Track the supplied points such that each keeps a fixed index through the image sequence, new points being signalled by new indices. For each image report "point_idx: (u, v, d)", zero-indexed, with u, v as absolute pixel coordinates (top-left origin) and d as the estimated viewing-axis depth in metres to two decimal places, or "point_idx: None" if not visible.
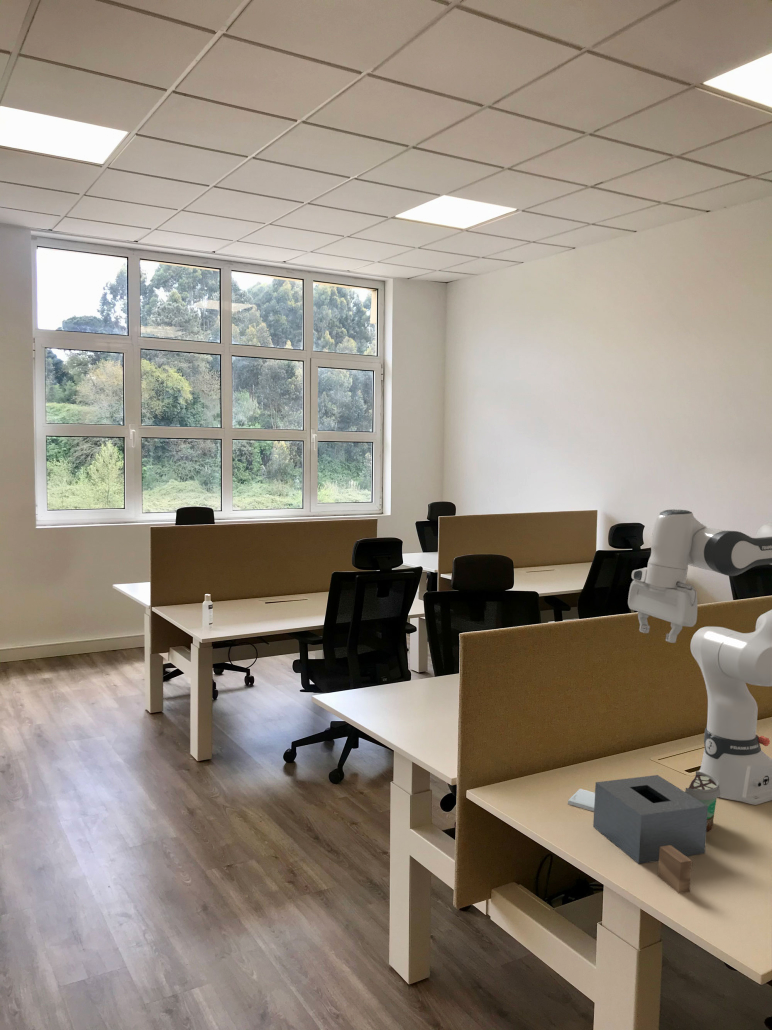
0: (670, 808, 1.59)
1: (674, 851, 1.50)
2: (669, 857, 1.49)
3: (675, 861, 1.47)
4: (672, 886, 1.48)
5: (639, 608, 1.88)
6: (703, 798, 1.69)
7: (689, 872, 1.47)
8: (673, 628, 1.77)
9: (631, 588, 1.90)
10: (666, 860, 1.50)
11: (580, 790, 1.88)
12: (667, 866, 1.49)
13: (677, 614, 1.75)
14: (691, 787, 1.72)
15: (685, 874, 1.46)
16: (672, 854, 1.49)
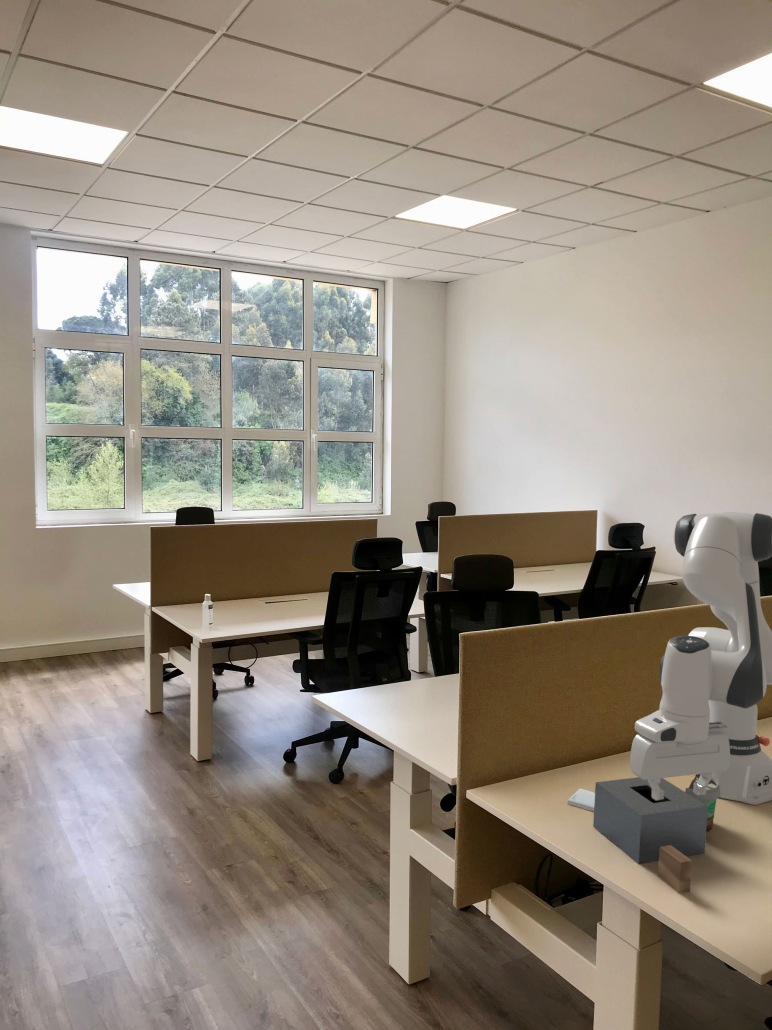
0: (670, 808, 1.59)
1: (674, 851, 1.50)
2: (669, 857, 1.49)
3: (675, 861, 1.47)
4: (672, 886, 1.48)
5: (662, 774, 1.44)
6: (703, 798, 1.69)
7: (689, 872, 1.47)
8: (710, 778, 1.49)
9: (650, 754, 1.42)
10: (666, 860, 1.50)
11: (580, 790, 1.88)
12: (667, 866, 1.49)
13: (721, 761, 1.48)
14: (691, 787, 1.72)
15: (685, 874, 1.46)
16: (672, 854, 1.49)
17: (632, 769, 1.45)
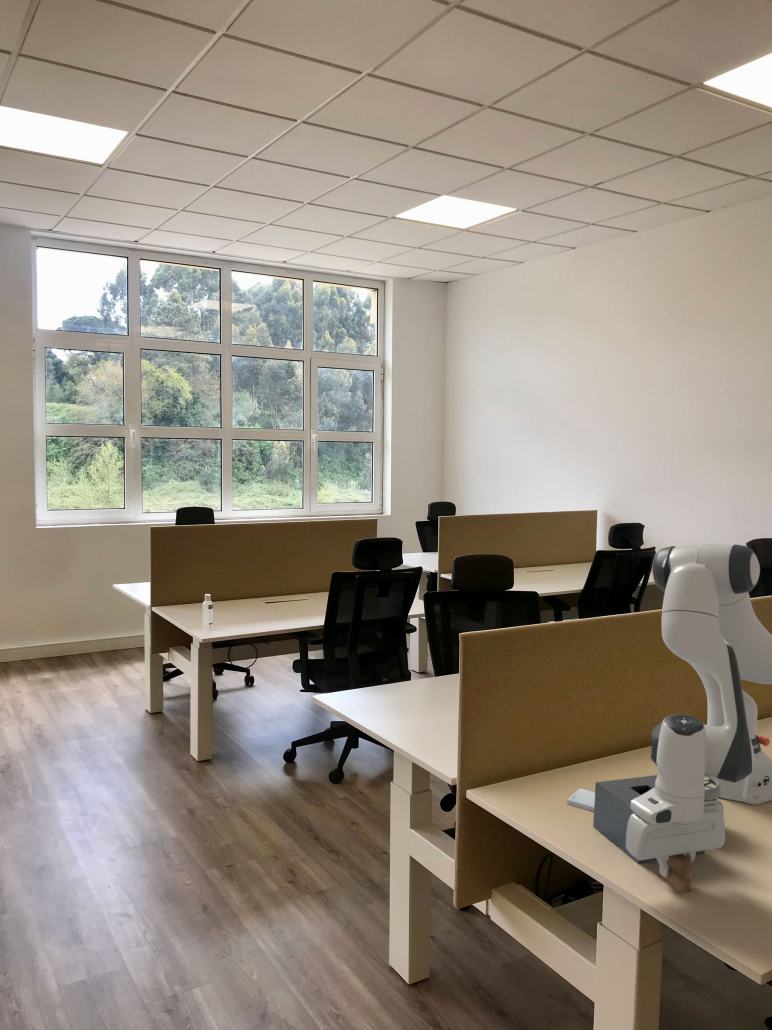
0: None
1: None
2: (669, 857, 1.49)
3: (675, 861, 1.47)
4: (672, 886, 1.48)
5: (658, 854, 1.46)
6: None
7: (689, 872, 1.47)
8: (693, 856, 1.49)
9: (646, 835, 1.44)
10: None
11: (580, 790, 1.88)
12: None
13: (716, 838, 1.50)
14: None
15: (685, 874, 1.46)
16: None
17: (628, 849, 1.47)
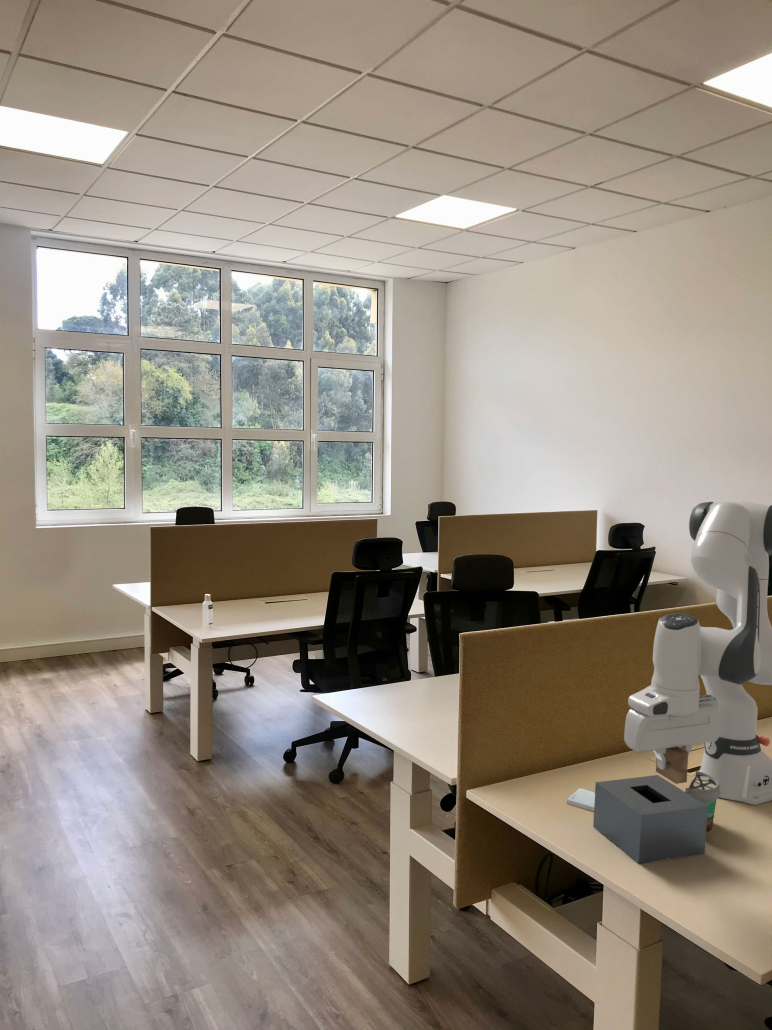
0: (670, 808, 1.59)
1: None
2: (666, 751, 1.54)
3: (672, 753, 1.52)
4: (670, 778, 1.53)
5: (655, 746, 1.51)
6: (703, 798, 1.69)
7: (686, 763, 1.52)
8: (689, 750, 1.55)
9: (644, 727, 1.49)
10: (663, 754, 1.55)
11: (580, 790, 1.88)
12: None
13: (711, 732, 1.55)
14: (691, 787, 1.72)
15: (682, 765, 1.52)
16: None
17: (626, 742, 1.52)
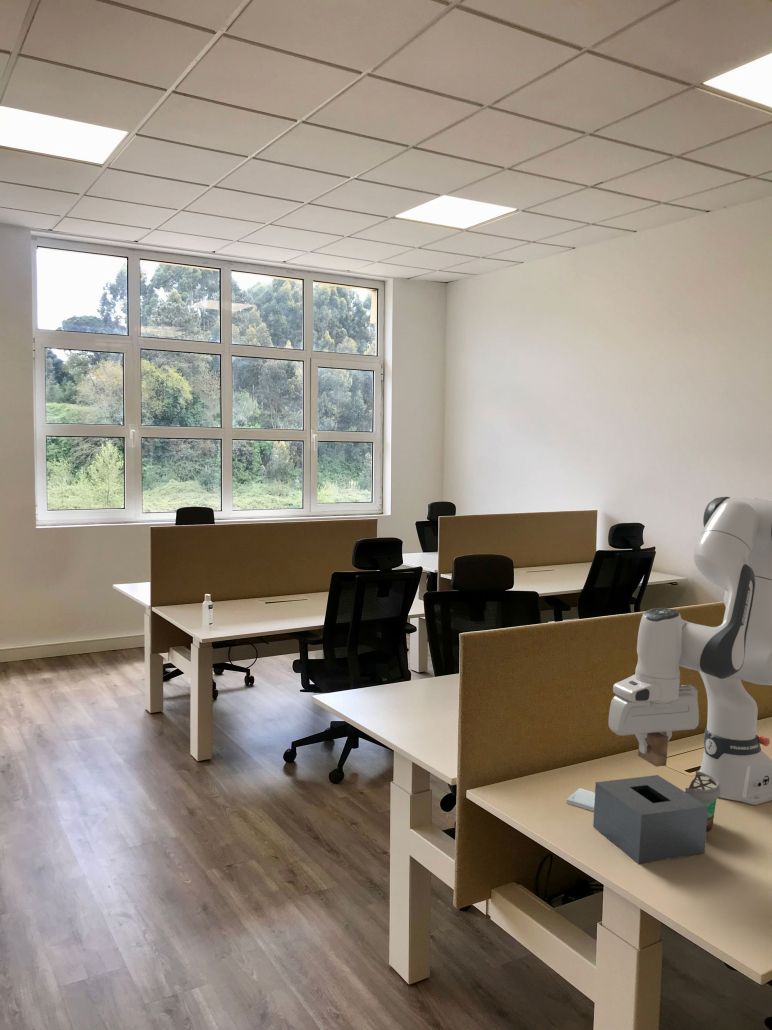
0: (670, 808, 1.59)
1: None
2: (647, 736, 1.65)
3: (653, 738, 1.63)
4: (650, 761, 1.64)
5: (637, 730, 1.61)
6: (703, 798, 1.69)
7: (666, 748, 1.62)
8: (670, 736, 1.65)
9: (626, 712, 1.59)
10: (645, 739, 1.65)
11: (580, 789, 1.88)
12: None
13: (690, 719, 1.65)
14: (691, 787, 1.72)
15: (662, 749, 1.62)
16: (651, 733, 1.64)
17: (610, 726, 1.62)
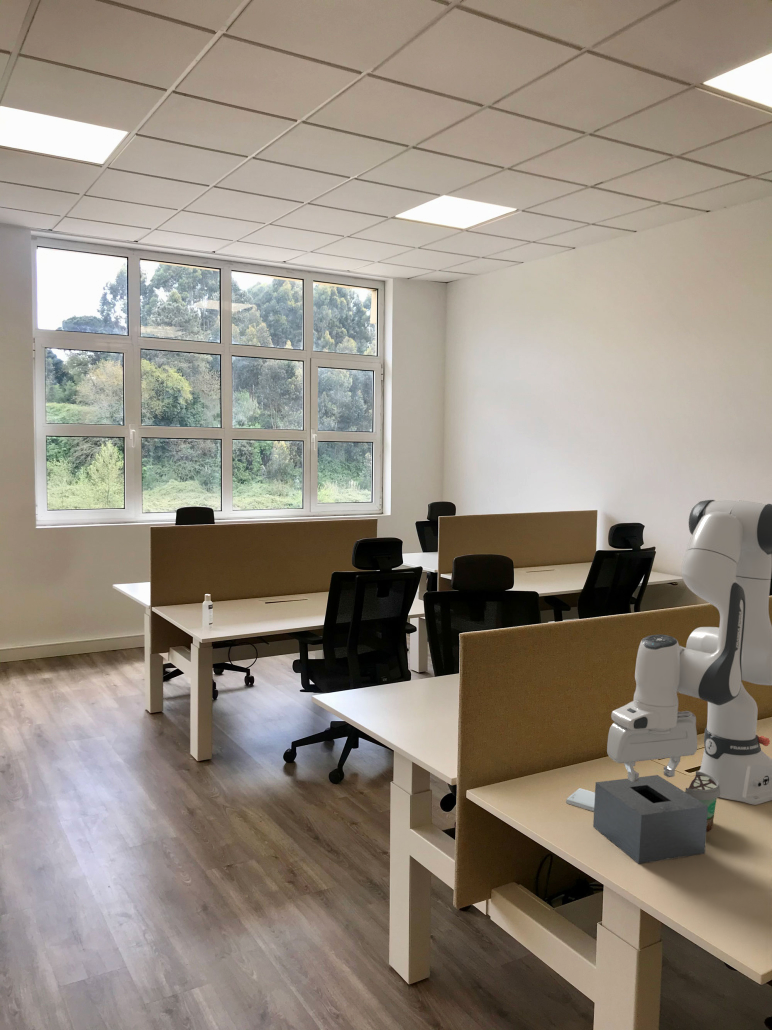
0: (670, 808, 1.59)
1: None
2: None
3: None
4: None
5: (636, 758, 1.62)
6: (703, 798, 1.69)
7: None
8: (678, 761, 1.66)
9: (625, 740, 1.60)
10: None
11: (579, 789, 1.88)
12: None
13: (689, 746, 1.66)
14: (691, 787, 1.72)
15: None
16: None
17: (609, 754, 1.63)
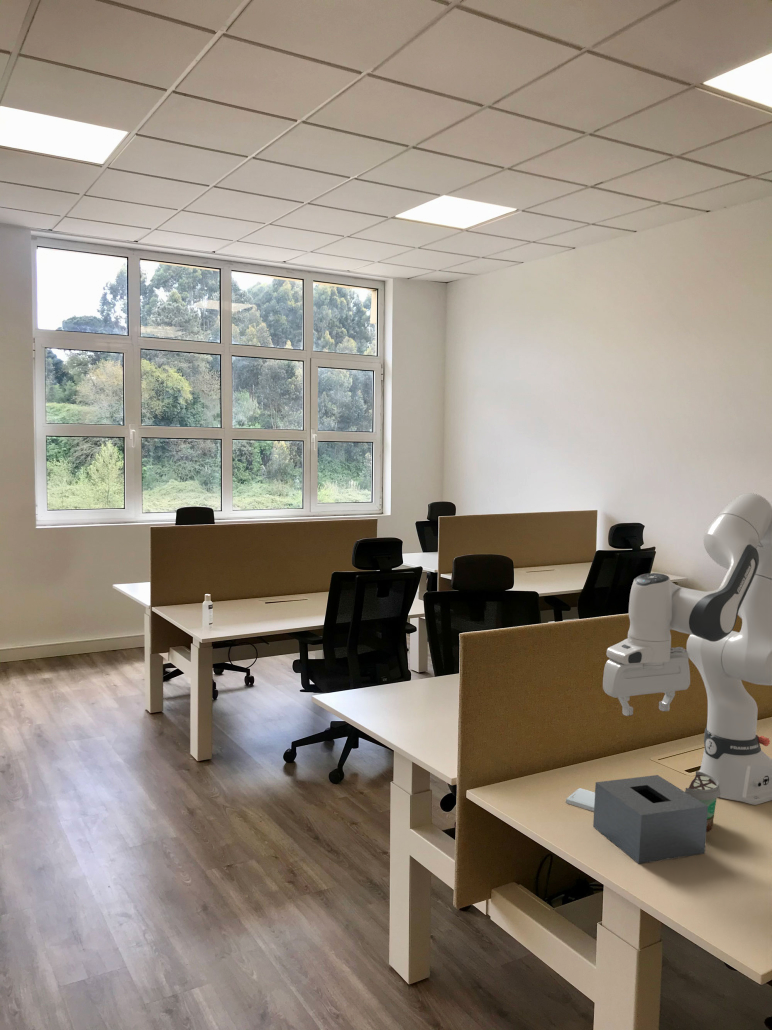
0: (670, 808, 1.59)
1: None
2: None
3: None
4: None
5: (631, 692, 1.66)
6: (703, 798, 1.69)
7: None
8: (673, 695, 1.71)
9: (620, 675, 1.64)
10: None
11: (579, 789, 1.88)
12: None
13: (682, 680, 1.70)
14: (691, 787, 1.72)
15: None
16: None
17: (605, 689, 1.67)
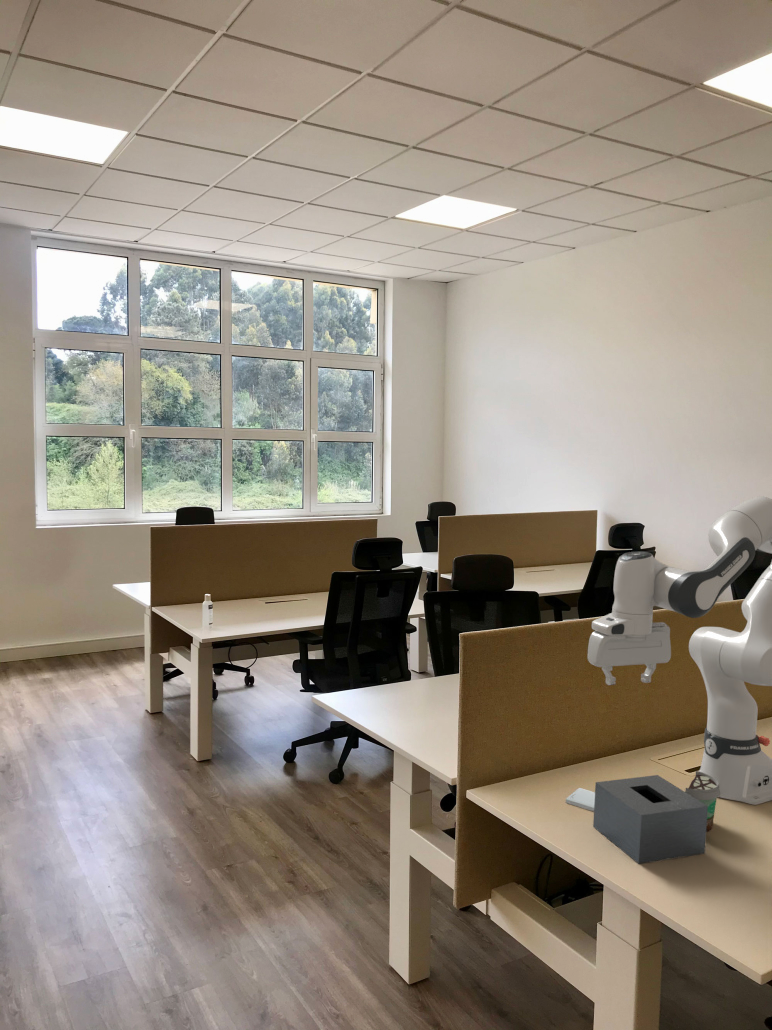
0: (670, 808, 1.59)
1: None
2: None
3: None
4: None
5: (614, 662, 1.76)
6: (703, 798, 1.69)
7: None
8: (654, 668, 1.80)
9: (603, 645, 1.74)
10: None
11: (579, 789, 1.88)
12: None
13: (663, 653, 1.80)
14: (691, 787, 1.72)
15: None
16: None
17: (589, 659, 1.77)
